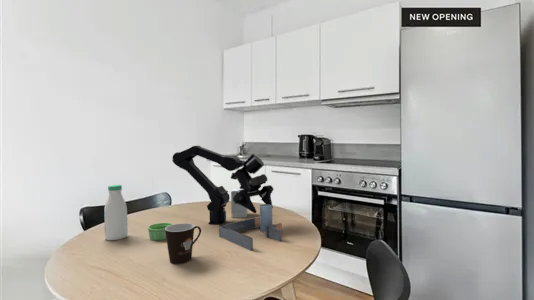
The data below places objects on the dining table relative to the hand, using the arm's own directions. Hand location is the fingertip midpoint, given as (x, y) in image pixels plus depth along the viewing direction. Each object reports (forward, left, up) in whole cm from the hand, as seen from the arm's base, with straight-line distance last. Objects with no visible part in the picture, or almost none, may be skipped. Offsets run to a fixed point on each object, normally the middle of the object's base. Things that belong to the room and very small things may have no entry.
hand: (264, 210), depth 117 cm
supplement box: (-14, +23, -8) cm, 28 cm away
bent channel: (-3, -8, -8) cm, 12 cm away
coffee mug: (-22, -29, -8) cm, 37 cm away
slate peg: (+1, 0, -8) cm, 8 cm away
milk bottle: (-56, -10, -8) cm, 57 cm away
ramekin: (-39, -9, -8) cm, 41 cm away
